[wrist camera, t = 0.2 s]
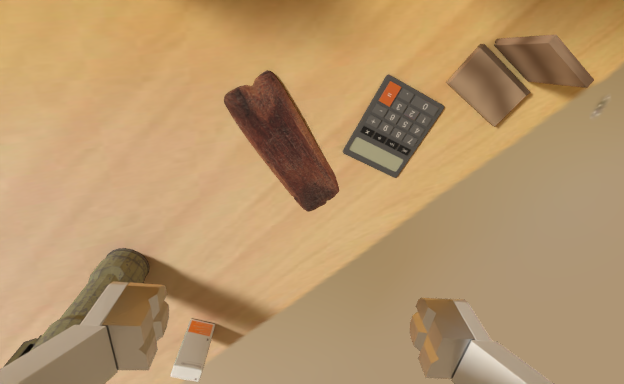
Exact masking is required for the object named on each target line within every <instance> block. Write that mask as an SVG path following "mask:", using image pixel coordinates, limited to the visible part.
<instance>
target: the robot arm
mask: <svg viewBox="0 0 624 384" xmlns="http://www.w3.org/2000/svg"><path fill="white" fill-rule="evenodd" d="M166 295H167V290H166V286H165V285H159V284H145V283H132V282H130V283H127V282H115V281H113V282H112V283H110V284H109V285H108V286H107V287H106V289H105V290H104V292H103V293H102V294H101V296H100V297H99V299H98V300H97V301H96V303H95V304H94V306H93V307H92V308H91V310H90V311H89V313H88V314H87V315H86V317H85V318H84V320H83V321H82V322H81V324H80V325H73V326H71V327H70V328H68V329H66V330H65V331H63V332H61V333H60V334H58V335H56V336H55V337H53V338H51V339H50V340H48V341H46V342H45V343H43V344H41V345H40V346H38V347H36V348H35V349H33V350H31V351H30V352H28V353H26V354H25V355H23V356H21V357H20V358H18V359H16V360H15V361H13V362H11V363H10V364H8V365H6V366H5V367H3V368H1V369H0V384H105V383H106V382H107V381H108V380H109V379H110V378H111V377H113V376H114V375H115V374H116V373H117V370H149V368H150V366H151V363H152V361H153V359H154V356H155V354H156V352H157V342H156V341H157V340H159V339H160V338H161V337H163V335H164V332H165V330H166V327H167V323H168V318H169V306H168V304H167V303H166V302H165V301H164V300H165V298H166ZM416 308H417V310H418V312H417V313H415V314H414V315H413V316H412V319H411V322H410V335H411V339H412V342H413V345H414V346H415V347H416V348H417V349H418V350H419V351H420V354H419V357H418V359H419V361H420V364H421V367H422V370H423V372H424V375H425V377H426V378H441V379H452V382H453V383H454V384H554V383H553V382H551V381H550V380H549V379H547V378H546V377H544V376H543V375H542V374H540V373H539V372H538V371H536V370H535V369H534V368H532V367H531V366H530V365H528V364H527V363H526V362H524V361H523V360H522V359H520V358H519V357H518V356H516V355H515V354H513V353H512V352H511V351H509V350H508V349H507V348H505V347H504V346H503V345H501V344H500V343H499V342H497V341H492V340H491V338H490V336H489V335H488V333H487V332H486V330H485V328H484V327H483V325H482V323H481V322H480V320H479V319H478V317H477V315H476V314H475V312H474V311H473V309H472V307H471V306H470V304H469V303H468V302H467V301H466V300H464V299H440V298H420V299H419V300H418V302H417V304H416Z"/></svg>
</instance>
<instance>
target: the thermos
mask: <svg viewBox="0 0 624 384" xmlns="http://www.w3.org/2000/svg"><path fill="white" fill-rule="evenodd" d="M148 272H149V264H148V261H147V260H146V259H145V257H144V256H143V255H141V254H140V253H138V252H136V251H134V250H131V249H126V248H123V249H116V250H113V251H112V252H110V253H109V254H108V255H107V257H106V258H105V259H104V260H103V261H102V262H101V263H100V264H99V265H98V266H97V268H96V269H95V270H94V271H93V273H92V274H91V275H90V278H89V282H88V284H87V285H86V286H85V288H84V289H83V290H82V291H81V293H80V294H79V295H78V296H77V298H76V299H75V300H74V302H73V303H72V304H71V305H70V307H69V308H68V309H67V310H66V312H65V313H64V314H63V315H62V317H61V318H60V319H59V320H57V321H56V322H54V323H53V324H52V325H50V327H49V328H48V329H47V330H46V332H45V333H44V334H43V335H42V336H40V337H39V338H38V339H36V338H35V339H32V340H29V341H26V342H24V343H23V344H22V345H21V346H20V348H19V349H18V350H17V351H16V353H15V354H14V355H13V356H12V357H11V359H10V360H9V361H8V362H7V363H6V364H5V366H6V365H8V364H10V363H11V362H13V361H15V360H16V359H18V358H20V357H21V356H23V355H25V354H26V353H28V352H30V351H31V350H33V349H35V348H36V347H38V346H40V345H41V344H43V343H45V342H46V341H48V340H50V339H51V338H53V337H55V336H56V335H58V334H60V333H61V332H63V331H65V330H66V329H68V328H70V327H71V326H73V325H80V324H81V322H82V321H83V320H84V318H85V317H86V315H87V314H88V313H89V311H90V310H91V308H92V307H93V306H94V304H95V303H96V301H97V300H98V299H99V297H100V296H101V294H102V293H103V292H104V290H105V289H106V287H107V286H108V285H109V284H110V283H112V282H113V281H115V282H127V283H130V282H132V283H143V282H144V280H145V277H146V275H147V274H148ZM5 366H4V367H5Z"/></svg>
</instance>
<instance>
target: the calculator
mask: <svg viewBox="0 0 624 384" xmlns="http://www.w3.org/2000/svg"><path fill="white" fill-rule="evenodd" d="M443 109H444V106H443V105H441V104H440V103H438V102H436V101H434V100H433V99H431V98H429V97H427V96H426V95H424V94H422V93H420V92H418V91H417V90H415V89H413V88H411V87H410V86H408V85H406V84H404V83H403V82H401V81H399V80H397V79H396V78H394V77H392V76H390V75H387V76H386V77H385V79H384V81H383V83H382V84H381V86H380V88H379V89H378V91H377V93H376V95H375V96H374V98H373V100H372V101H371V103H370V105H369V107H368V108H367V110H366V112H365V114H364V115H363V117H362V119H361V120H360V122H359V124H358V126H357V127H356V129H355V131H354V132H353V134H352V136H351V138H350V139H349V141H348V143H347V145H346V146H345V148H344V150H343V153H344V154H346V155H348V156H350V157H352V158H354V159H357V160H359V161H361V162H363V163H365V164H367V165H369V166H371V167H373V168H375V169H377V170H380V171H382V172H384V173H386V174H388V175H390V176H392V177H394V178H396V177H397V176H398V175H399V173H400V172H401V170H402V169H403V167H404V166H405V164H406V163H407V162H408V160H409V159H410V157H411V156H412V154H413V153H414V151H415V150H416V148H417V147H418V145H419V144H420V143H421V141H422V140H423V138H424V137H425V135H426V134H427V132H428V131H429V129H430V128H431V127H432V125H433V124H434V122H435V121H436V119H437V118H438V116H439V115H440V113H441V112H442V110H443Z"/></svg>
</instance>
